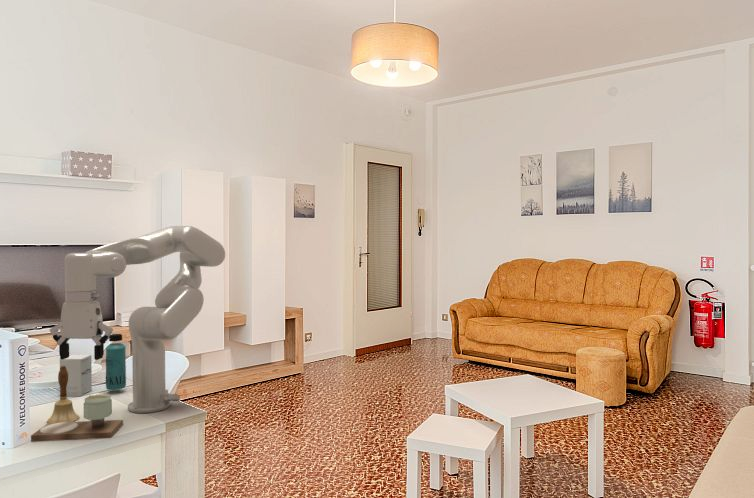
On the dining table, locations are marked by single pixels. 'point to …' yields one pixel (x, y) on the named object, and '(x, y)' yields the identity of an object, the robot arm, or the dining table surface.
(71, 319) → the robot arm
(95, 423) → the post
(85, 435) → the board
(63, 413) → the hand bell
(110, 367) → the beverage bottle
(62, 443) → the dining table surface
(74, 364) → the supplement box
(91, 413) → the cap
